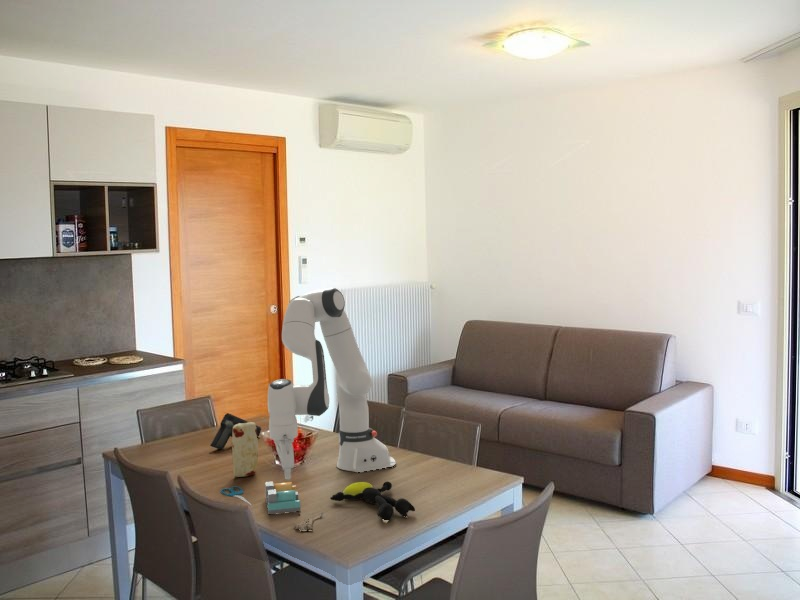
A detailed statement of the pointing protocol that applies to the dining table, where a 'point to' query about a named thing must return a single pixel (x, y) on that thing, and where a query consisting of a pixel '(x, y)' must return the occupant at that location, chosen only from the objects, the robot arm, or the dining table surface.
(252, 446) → the food model
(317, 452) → the dining table surface
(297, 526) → the leaf
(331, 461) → the dining table surface
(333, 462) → the dining table surface
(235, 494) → the scissors
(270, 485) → the tan and gray block
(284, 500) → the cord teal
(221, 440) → the handgun
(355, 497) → the toy
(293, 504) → the rack
